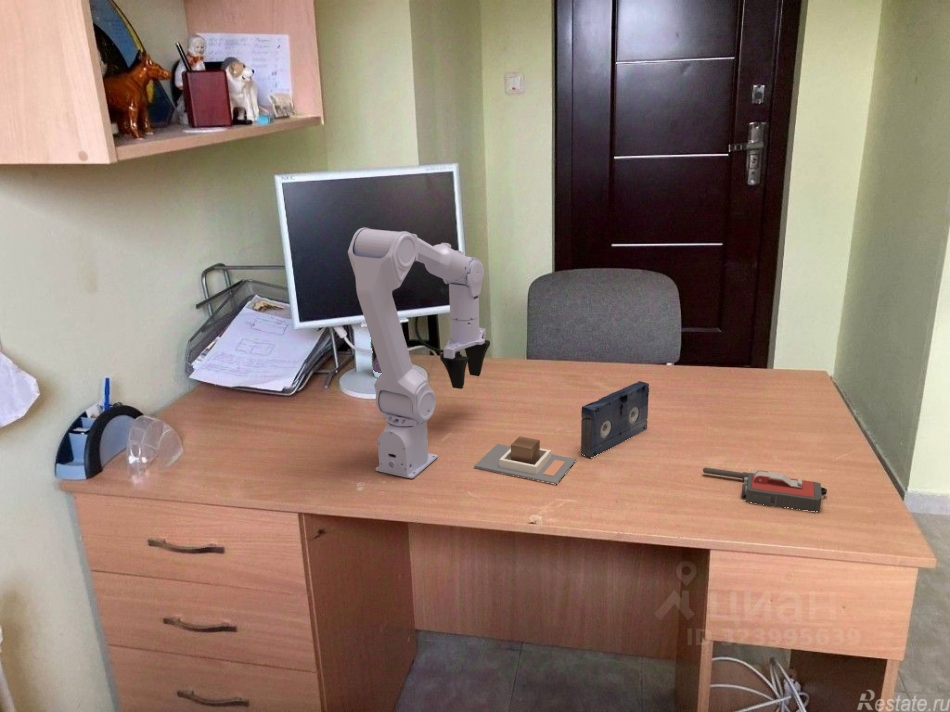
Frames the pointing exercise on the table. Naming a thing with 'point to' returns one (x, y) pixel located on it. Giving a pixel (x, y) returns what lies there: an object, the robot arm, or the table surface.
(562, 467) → the pocket board
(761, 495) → the walkie-talkie
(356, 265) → the robot arm
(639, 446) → the table surface
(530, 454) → the walnut block
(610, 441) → the vhs cassette tape
